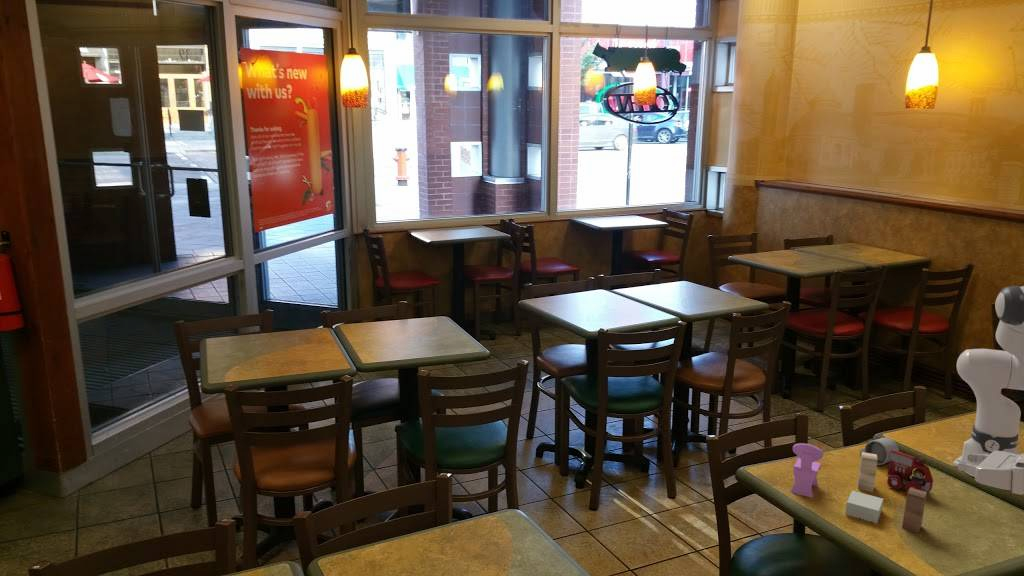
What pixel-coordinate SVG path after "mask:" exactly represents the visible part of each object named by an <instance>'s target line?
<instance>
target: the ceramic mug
mask: <svg viewBox="0 0 1024 576" xmlns="http://www.w3.org/2000/svg"><path fill="white" fill-rule="evenodd" d="M892 450H895V451H898V452H900V448H899V445H898V444H897V442H896V441H895V440H893V439H892V438H891V437H880V438H877V439H872V440H870V441H868V442H867V443H866V444H865V446H864V448H861V449H859V455H860V456H861V454H862V452H864V453H870V454H877V459H878V461H877V466H882V465H885V464H886V463H889V462H890V460H889V453H890V452H891V451H892Z"/></svg>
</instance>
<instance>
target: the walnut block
mask: <svg viewBox="0 0 1024 576" xmlns="http://www.w3.org/2000/svg"><path fill="white" fill-rule="evenodd" d="M927 493H928V492H925V491H922V490H917V489H913V488H910V489H909V491H908V493H907V492H906V498H905V499H906V500H905V505H904V513H903V517H902V518H903V519H902V526H901V528H902V529H905V530H908V531H912V532H914V533H915V532H916V533H918V532H919V533H920V530H921V529H922V527H923V526H922V525H923V518H924V513H925V507H926V501H927V500H926V499H927ZM920 528H921V529H920Z"/></svg>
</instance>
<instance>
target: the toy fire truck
mask: <svg viewBox="0 0 1024 576" xmlns="http://www.w3.org/2000/svg"><path fill="white" fill-rule="evenodd" d="M889 460H890V461H889V462H888V463H889V464H888V469H887V475H886V476H887V481H886V483H887V485H888V487H889V488H890V489H892V490H900V489H901V488H902V487H903V486H904V485H905V488H904V489H905V492H906V494H907V493H908V491H909V489H910V488H913V489H917V490H921V491H924V492H927V493H929V492H930V491H932V489H933V483H934V479H933V475H932V473H931V470H930V468H929V466H928V465H926V461H925V459H924V458H921V457H919V458H918V459H917V458H916V457H915V456H913V455H910V454H907V453H903V452H900V451H899V452H898V451H895V450H892V451H891V452H890V453H889Z"/></svg>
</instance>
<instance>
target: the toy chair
mask: <svg viewBox="0 0 1024 576" xmlns="http://www.w3.org/2000/svg"><path fill="white" fill-rule="evenodd" d="M792 452H793V453H794V455H796V456H797V457H798V458H797V460H796V462H795V463H794V465H793V470H792V472H793V476H794V484H793V486H792V488H791V490H790V491H789V492H790V493H793V494H797V495H800V496H805V497H809V498H813V499H814V493H813V489H812V488H813V487H812V486H814V487H819V483H818V478H817V477H818V476H817V475H818V472H819V471H820V469H821V467H822V466H821V465H822V463H821V462H816V461H819V460H821V459H822V458H823V457H824V451H823V450H822V449H821V448H819V447H817V446H816V445H813V444H809V443H803V442H801V443H795V444H794V445H793V446H792Z"/></svg>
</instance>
